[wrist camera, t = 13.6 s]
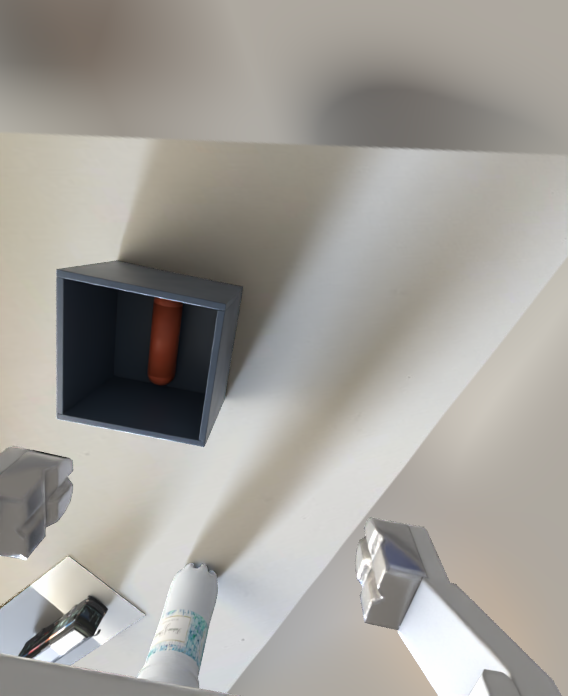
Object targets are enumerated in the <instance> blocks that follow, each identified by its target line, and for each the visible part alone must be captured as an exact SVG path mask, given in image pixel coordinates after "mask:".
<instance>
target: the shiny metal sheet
mask: <svg viewBox="0 0 568 696" xmlns="http://www.w3.org/2000/svg"><path fill="white" fill-rule="evenodd" d="M144 616H146V615H145V614H143V613H142V612H141V611H140V610H138V609H137V608H136V607H134V606H133V605H132V604H130V603H129V602H128V601H127V600H125V599H124V598H123V597H121V596H120V595H119V594H117V593H116V592H115V591H113V590H112V589H111V588H110V587H108V586H107V585H106V584H104V583H103V582H102V581H100V580H99V579H98V578H97V577H95V576H94V575H93V574H91V573H90V572H89V571H87V570H86V569H85V568H84V567H82V566H81V565H80V564H78V563H77V562H76V561H74V560H73V559H72V558H70V557H69V556H68V557H66V558H65V559H64V560H63V561H61V562H60V563H59V564H57V565H56V566H55V567H53V568H52V569H51V570H50V571H48V572H47V573H46V574H44V575H43V576H42V577H41V578H39V579H38V580H37V581H35V582H34V583H33V584H32V585H30V586H29V587H28V588H26V589H25V590H24V591H23V592H21V593H20V594H19V595H17V596H16V597H15V598H13V599H12V600H11V601H10V602H8V603H7V604H6V605H4V606H3V607H2V608H1V609H0V653H3V654H8V655H14V656H20V657H25V658H31V659H36V660H42V661H48V662H53V663H59V664H64V665H70V666H71V665H72V664H74V663H75V662H77V661H78V660H80V659H81V658H83V657H84V656H86V655H87V654H89V653H90V652H92V651H93V650H95V649H96V648H98V647H99V646H101V645H102V644H104V643H105V642H107V641H108V640H110V639H111V638H113V637H114V636H116V635H117V634H119V633H120V632H122V631H123V630H125V629H126V628H128V627H129V626H131V625H132V624H134V623H135V622H137V621H138V620H140V619H141V618H143V617H144Z"/></svg>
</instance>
